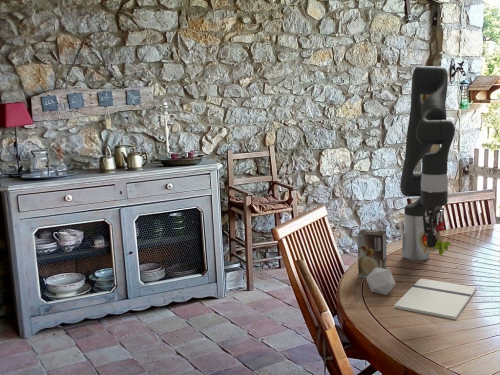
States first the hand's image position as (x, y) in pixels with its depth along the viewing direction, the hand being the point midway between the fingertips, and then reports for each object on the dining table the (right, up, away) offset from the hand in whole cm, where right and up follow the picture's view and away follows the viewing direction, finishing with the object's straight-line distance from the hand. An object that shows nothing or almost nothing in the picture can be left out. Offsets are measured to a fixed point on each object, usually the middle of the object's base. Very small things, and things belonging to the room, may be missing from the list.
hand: (433, 244), depth 165 cm
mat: (+4, -18, +7) cm, 19 cm away
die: (-12, -17, +14) cm, 26 cm away
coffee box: (-12, -14, +29) cm, 35 cm away
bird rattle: (0, -3, 0) cm, 3 cm away
